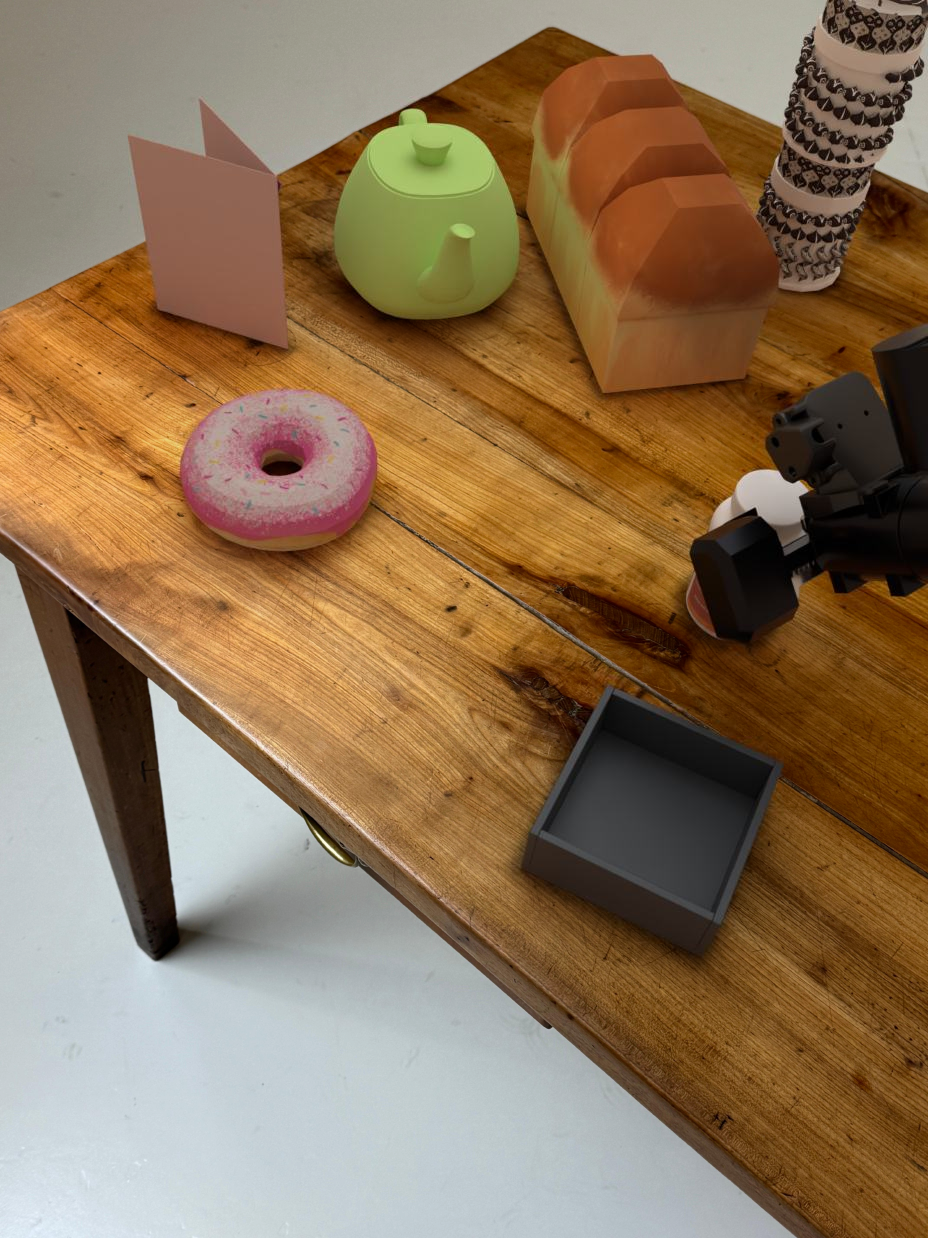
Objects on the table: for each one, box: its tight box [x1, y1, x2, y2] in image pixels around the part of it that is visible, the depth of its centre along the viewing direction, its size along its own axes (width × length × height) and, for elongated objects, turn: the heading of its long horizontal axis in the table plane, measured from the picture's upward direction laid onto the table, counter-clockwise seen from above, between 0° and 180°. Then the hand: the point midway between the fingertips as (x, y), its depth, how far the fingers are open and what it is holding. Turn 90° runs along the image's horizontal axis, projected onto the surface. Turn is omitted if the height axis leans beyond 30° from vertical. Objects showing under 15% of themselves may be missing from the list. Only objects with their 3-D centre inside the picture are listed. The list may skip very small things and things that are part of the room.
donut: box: [179, 388, 378, 552], centre depth 81 cm, size 14×13×5 cm
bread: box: [525, 53, 780, 394], centre depth 93 cm, size 25×12×15 cm, turn 13°
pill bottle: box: [685, 469, 809, 641], centre depth 75 cm, size 6×6×11 cm
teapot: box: [333, 108, 521, 320], centre depth 92 cm, size 22×15×13 cm
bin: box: [520, 684, 785, 958], centre depth 67 cm, size 11×11×4 cm
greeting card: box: [127, 96, 289, 350], centre depth 87 cm, size 11×7×15 cm, turn 35°
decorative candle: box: [754, 0, 928, 293], centre depth 93 cm, size 9×9×25 cm
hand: (740, 530), depth 75 cm, fingers closed on pill bottle, 6 cm apart
